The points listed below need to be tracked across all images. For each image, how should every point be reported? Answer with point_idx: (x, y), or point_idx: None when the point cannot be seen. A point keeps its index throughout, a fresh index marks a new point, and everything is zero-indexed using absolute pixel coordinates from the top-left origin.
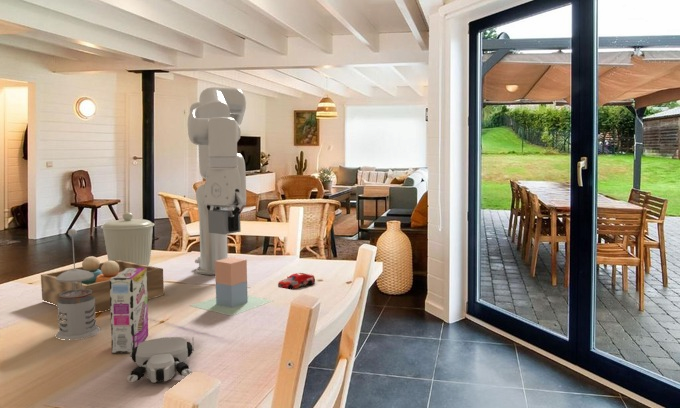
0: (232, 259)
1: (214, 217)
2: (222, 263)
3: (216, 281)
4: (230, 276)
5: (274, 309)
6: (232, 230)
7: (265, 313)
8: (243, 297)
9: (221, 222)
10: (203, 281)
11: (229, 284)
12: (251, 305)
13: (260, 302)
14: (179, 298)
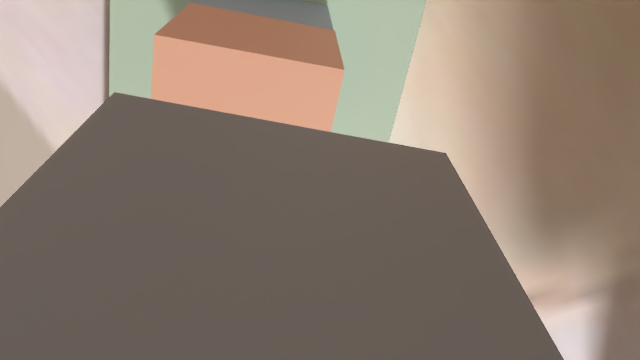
0: None
1: (326, 280)
2: (254, 49)
3: (326, 31)
4: (183, 15)
5: (62, 98)
6: None
7: (55, 28)
8: None
9: (109, 188)
10: (619, 322)
11: (204, 5)
12: (147, 55)
13: None
14: (601, 71)
